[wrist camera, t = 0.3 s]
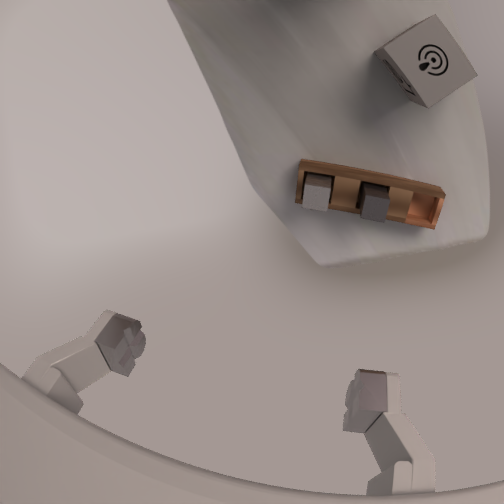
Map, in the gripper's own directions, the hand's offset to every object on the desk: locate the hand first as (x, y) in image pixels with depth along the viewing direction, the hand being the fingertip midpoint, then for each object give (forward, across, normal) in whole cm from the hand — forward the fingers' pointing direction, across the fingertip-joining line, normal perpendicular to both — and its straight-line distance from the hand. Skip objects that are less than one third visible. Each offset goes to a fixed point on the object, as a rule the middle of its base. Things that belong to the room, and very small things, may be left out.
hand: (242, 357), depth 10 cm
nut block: (+45, -2, +10) cm, 46 cm away
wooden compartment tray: (+46, -11, +10) cm, 48 cm away
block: (+45, -11, +10) cm, 47 cm away
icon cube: (+46, -15, -14) cm, 50 cm away
